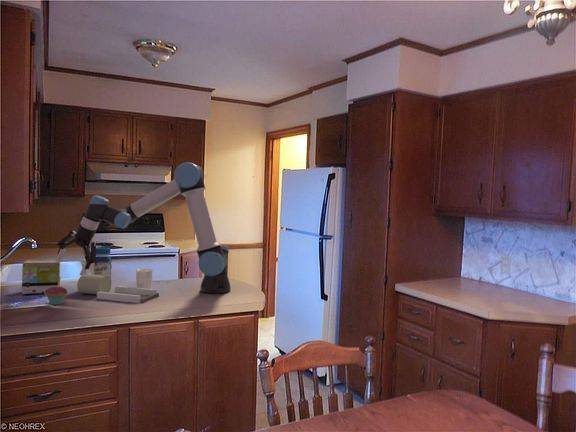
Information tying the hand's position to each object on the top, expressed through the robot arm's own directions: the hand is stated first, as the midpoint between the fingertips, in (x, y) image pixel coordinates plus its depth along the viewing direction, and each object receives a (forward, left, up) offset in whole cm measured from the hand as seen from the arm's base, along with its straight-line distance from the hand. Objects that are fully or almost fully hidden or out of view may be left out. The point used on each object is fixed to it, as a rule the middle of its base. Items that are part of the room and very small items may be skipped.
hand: (69, 268), depth 199 cm
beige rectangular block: (-17, -3, -7) cm, 19 cm away
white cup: (-27, -19, -12) cm, 35 cm away
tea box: (+15, 0, -12) cm, 19 cm away
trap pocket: (-37, -3, -12) cm, 39 cm away
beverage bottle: (-5, -17, -12) cm, 22 cm away
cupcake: (-7, +17, -12) cm, 22 cm away
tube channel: (-28, -3, -12) cm, 31 cm away
